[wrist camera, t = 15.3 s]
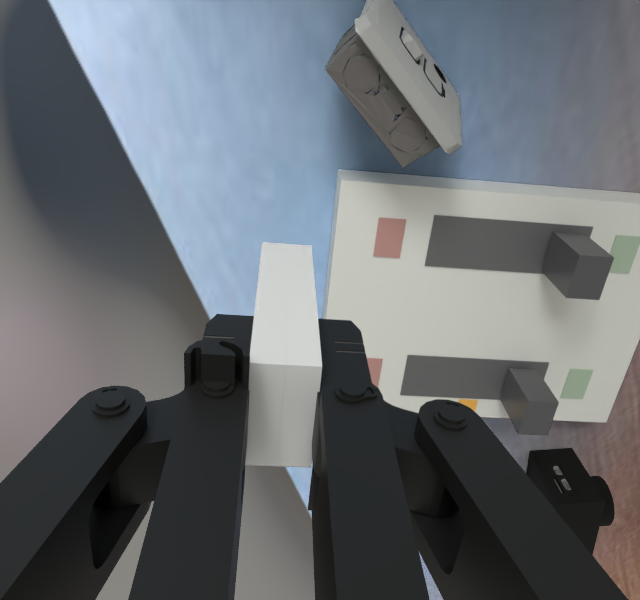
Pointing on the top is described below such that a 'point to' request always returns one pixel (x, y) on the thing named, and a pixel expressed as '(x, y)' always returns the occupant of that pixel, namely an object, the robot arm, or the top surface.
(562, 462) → the digital camera
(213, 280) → the top surface
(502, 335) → the breaker panel
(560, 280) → the block
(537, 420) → the block
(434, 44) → the top surface
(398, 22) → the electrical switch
